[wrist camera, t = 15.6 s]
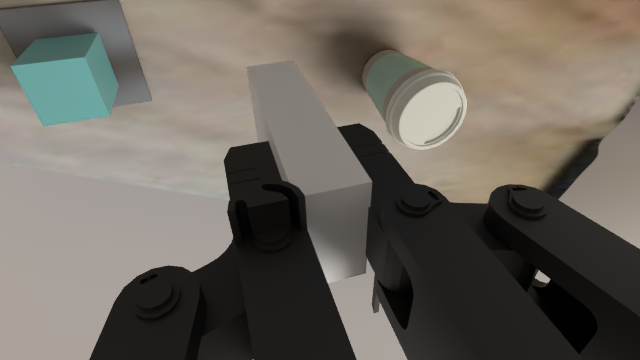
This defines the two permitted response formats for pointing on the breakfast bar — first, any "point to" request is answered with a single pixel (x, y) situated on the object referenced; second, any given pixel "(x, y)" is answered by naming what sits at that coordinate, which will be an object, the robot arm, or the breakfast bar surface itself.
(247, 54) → the breakfast bar surface
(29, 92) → the teal rectangular block
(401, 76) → the coffee cup
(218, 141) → the breakfast bar surface
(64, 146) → the breakfast bar surface
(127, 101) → the grey square base stand
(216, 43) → the breakfast bar surface
